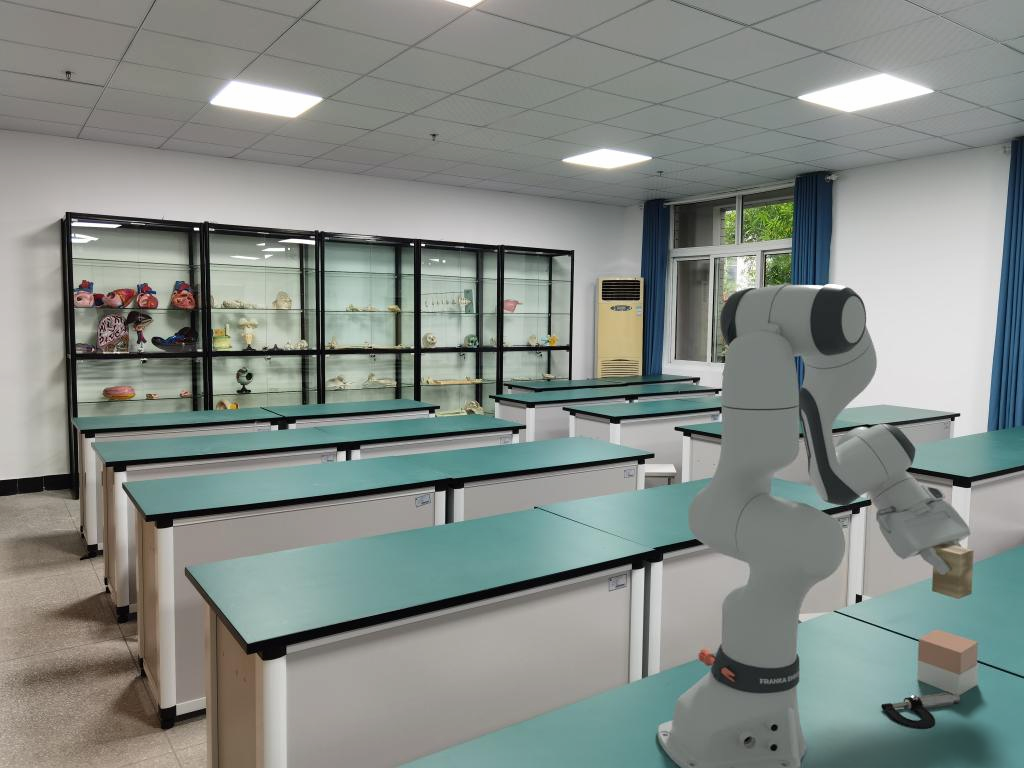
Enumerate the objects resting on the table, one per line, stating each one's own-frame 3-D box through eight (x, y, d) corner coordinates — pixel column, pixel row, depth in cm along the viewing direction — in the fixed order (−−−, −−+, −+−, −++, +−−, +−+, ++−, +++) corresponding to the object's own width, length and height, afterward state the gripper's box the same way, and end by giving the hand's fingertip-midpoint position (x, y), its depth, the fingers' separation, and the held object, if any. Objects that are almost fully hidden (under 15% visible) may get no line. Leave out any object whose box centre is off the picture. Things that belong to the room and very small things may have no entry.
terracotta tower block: (960, 674, 125) (961, 652, 124) (917, 660, 130) (918, 638, 130) (976, 663, 129) (977, 642, 128) (935, 649, 134) (936, 629, 134)
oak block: (958, 599, 125) (960, 554, 124) (932, 591, 129) (933, 547, 128) (971, 593, 127) (973, 550, 127) (945, 586, 131) (947, 543, 131)
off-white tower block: (958, 697, 125) (959, 675, 125) (917, 680, 131) (918, 659, 130) (977, 686, 129) (978, 664, 128) (936, 670, 135) (937, 650, 134)
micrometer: (907, 733, 114) (907, 718, 114) (876, 710, 121) (876, 696, 121) (986, 722, 117) (987, 708, 117) (952, 700, 124) (952, 686, 124)
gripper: (884, 502, 127) (938, 571, 120) (945, 488, 138) (998, 551, 130) (859, 521, 131) (910, 589, 124) (920, 506, 142) (971, 568, 135)
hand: (956, 569), depth 127 cm, fingers closed on oak block, 4 cm apart
